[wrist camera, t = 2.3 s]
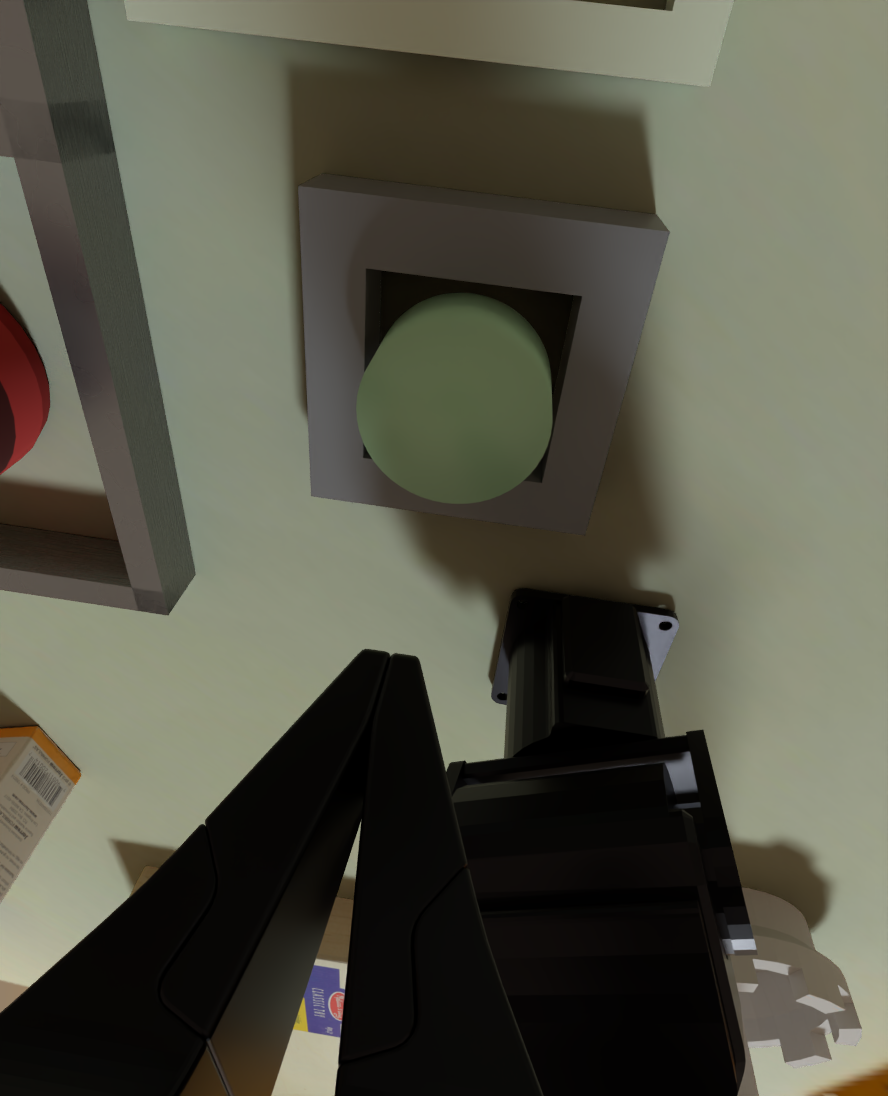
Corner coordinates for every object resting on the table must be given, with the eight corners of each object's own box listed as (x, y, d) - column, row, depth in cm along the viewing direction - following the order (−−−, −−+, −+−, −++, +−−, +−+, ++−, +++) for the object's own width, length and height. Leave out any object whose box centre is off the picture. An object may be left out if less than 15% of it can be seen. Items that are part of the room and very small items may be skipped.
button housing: (581, 498, 22) (584, 535, 21) (328, 462, 23) (311, 496, 21) (656, 214, 17) (669, 232, 15) (322, 173, 17) (297, 185, 16)
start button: (533, 471, 20) (533, 515, 18) (373, 449, 20) (355, 490, 18) (568, 305, 17) (571, 337, 15) (377, 280, 17) (357, 308, 15)
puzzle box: (214, 1027, 66) (445, 1070, 65) (195, 1083, 63) (439, 1130, 61) (148, 850, 44) (494, 911, 43) (112, 921, 41) (489, 989, 40)
